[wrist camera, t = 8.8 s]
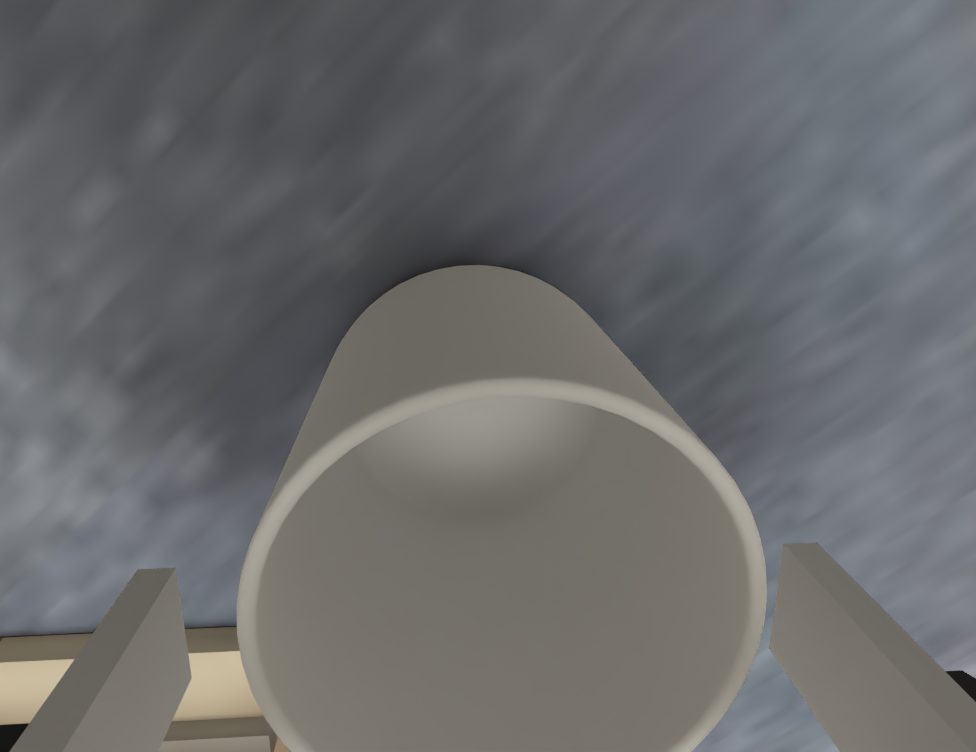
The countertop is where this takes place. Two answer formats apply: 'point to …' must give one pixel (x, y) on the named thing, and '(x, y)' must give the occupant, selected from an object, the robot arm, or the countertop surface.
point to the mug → (496, 541)
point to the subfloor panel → (202, 711)
